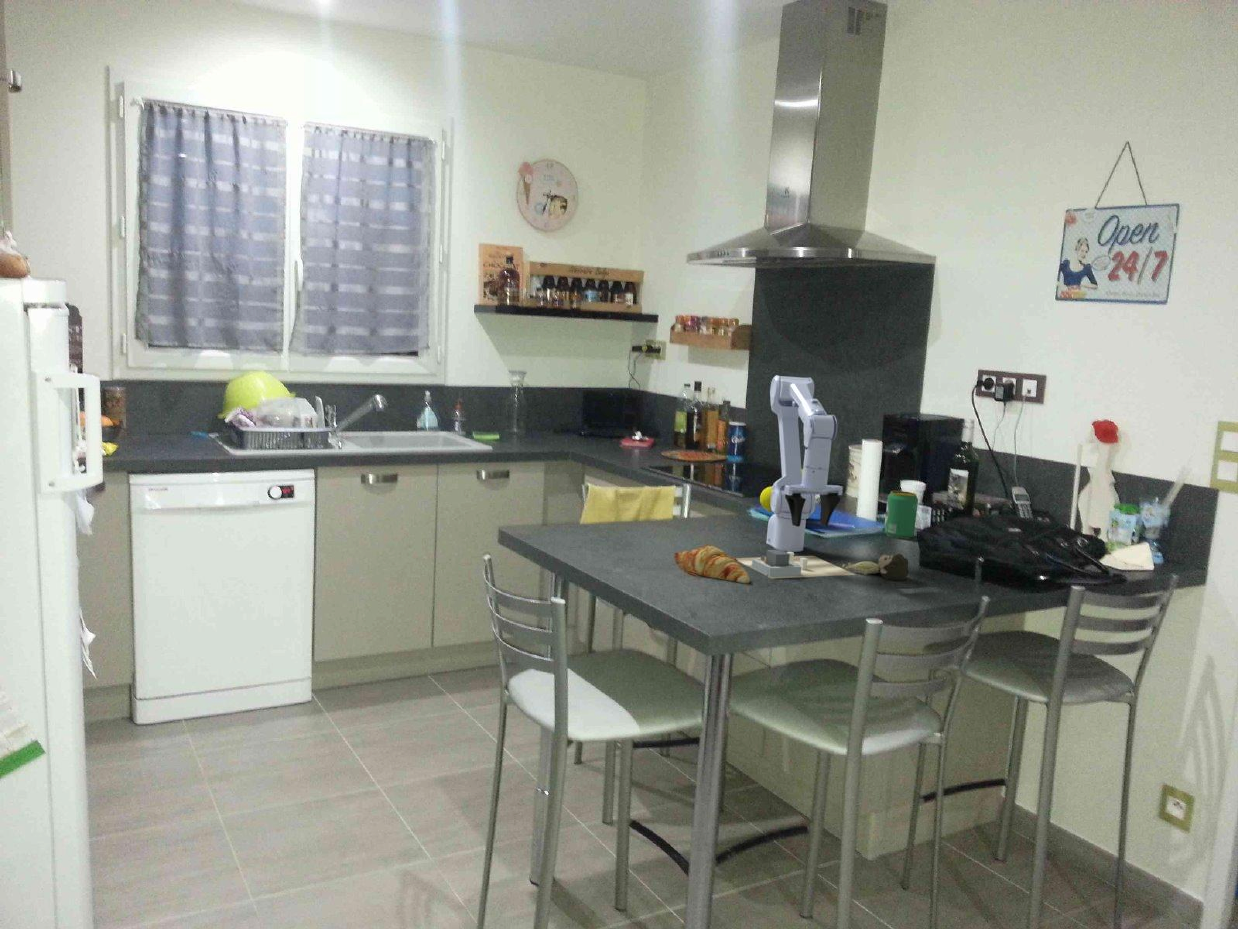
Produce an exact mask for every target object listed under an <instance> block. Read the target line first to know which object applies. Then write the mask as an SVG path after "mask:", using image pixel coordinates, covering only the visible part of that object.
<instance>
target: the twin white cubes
mask: <svg viewBox="0 0 1238 929" xmlns="http://www.w3.org/2000/svg"><path fill="white" fill-rule="evenodd" d="M786 553H788V554H790V558H789V561H790V562H792V563H793V559H794V556H795V553H794V552H791V551H786ZM807 561H808V559H806V558H800V566H801V569H802V570H807Z"/></svg>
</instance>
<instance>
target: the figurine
mask: <svg viewBox="0 0 1238 929" xmlns="http://www.w3.org/2000/svg"><path fill="white" fill-rule="evenodd" d="M841 568H842V569H845V570H851V571H854V572H855V573H858V574H862V575H865V576H866V575H869V574H873V575H875V574H878V573H880V574H881V576H882V577H883V578H884V579H886V580H891V581H899V582H900V581H905V580H906V578H907V577H908V575H909V574H910V570H909V560H908V558H906V557H904V555H903V554H901V553H896V554H892V555H887V554H886V553H885V554H883V555H881V556H880V557H879V559H878V562H877V563H875V562H873V561H869V560H868V561H865V560H864V561H861V562H857V563H853V564H852V563H851V562H848V564H842V567H841Z"/></svg>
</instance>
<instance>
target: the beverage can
mask: <svg viewBox="0 0 1238 929" xmlns="http://www.w3.org/2000/svg"><path fill="white" fill-rule="evenodd" d="M918 504H919V499H918V496H917V493H914V492H912V491H904V490H891V491H890V493H889V494H888V496H887V501H886V510H885V517H884V518H885V519H884V527H885V531H884V530H883V531H884V535H885V534H886V535H887V537H890V538H892V537H897V538H896V539H898V538H905V539H904V540H910V539H909V538H911V537H912V538H913V536H914V535H915V530H916V528H915V527H916V522H917V521H916V520H917V512H918ZM886 535H885V536H886ZM906 538H907V539H906ZM912 538H911V539H912Z"/></svg>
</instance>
